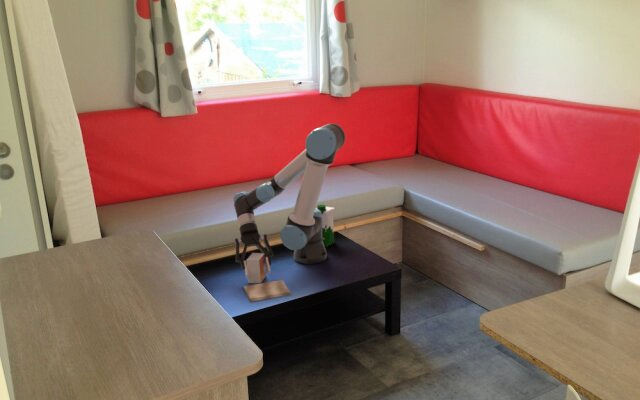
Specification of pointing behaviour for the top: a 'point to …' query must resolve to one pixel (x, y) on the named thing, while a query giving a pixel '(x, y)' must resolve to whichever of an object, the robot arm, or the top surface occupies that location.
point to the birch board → (266, 290)
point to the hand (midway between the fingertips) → (258, 274)
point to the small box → (256, 267)
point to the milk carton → (327, 224)
